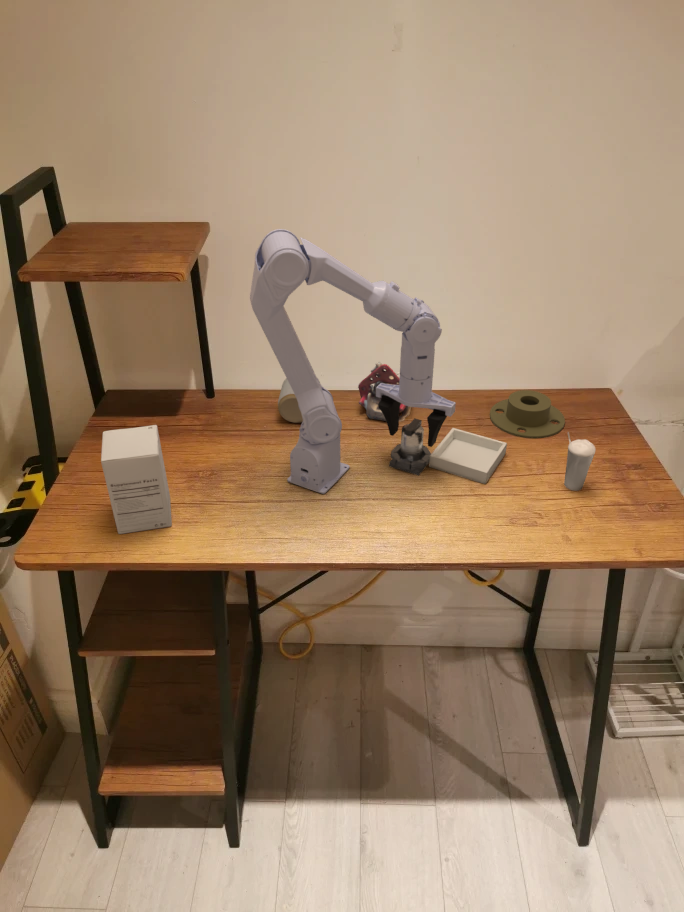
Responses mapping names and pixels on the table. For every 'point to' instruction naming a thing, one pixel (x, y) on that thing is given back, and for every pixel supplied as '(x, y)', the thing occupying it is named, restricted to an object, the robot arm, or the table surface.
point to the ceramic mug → (289, 404)
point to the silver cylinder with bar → (412, 441)
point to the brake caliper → (369, 391)
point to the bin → (468, 455)
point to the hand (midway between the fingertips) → (412, 438)
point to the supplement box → (136, 479)
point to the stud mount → (406, 465)
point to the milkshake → (578, 463)
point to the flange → (527, 415)
